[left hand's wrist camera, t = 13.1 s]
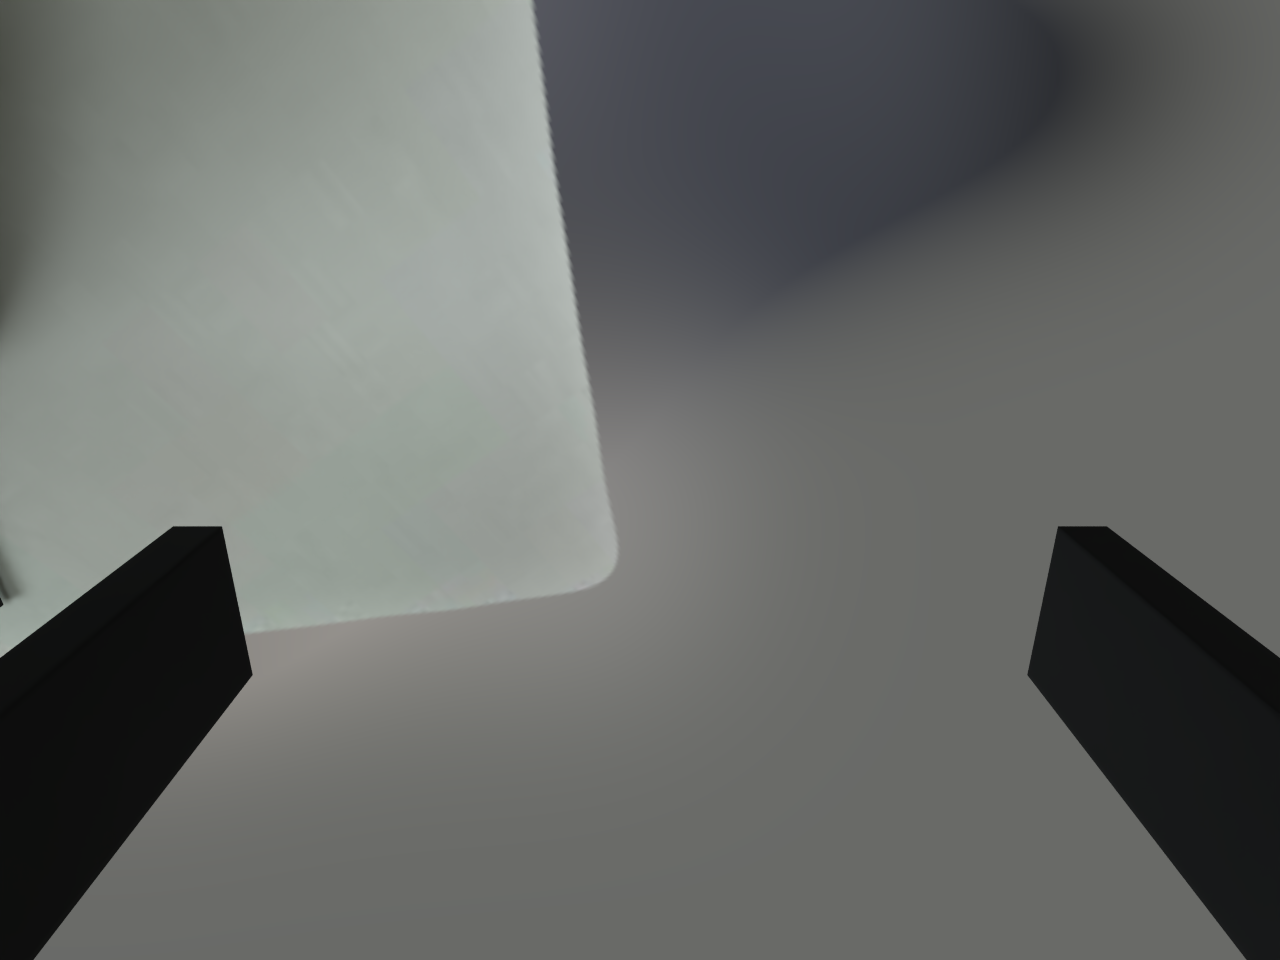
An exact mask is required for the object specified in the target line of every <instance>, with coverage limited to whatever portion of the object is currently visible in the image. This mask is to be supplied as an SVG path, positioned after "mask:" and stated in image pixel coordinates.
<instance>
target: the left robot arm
mask: <svg viewBox="0 0 1280 960" xmlns="http://www.w3.org/2000/svg"><path fill="white" fill-rule="evenodd" d="M2 605H3V603H2V601H1V598H0V607H1V606H2ZM251 676H252V670H251V665H250V660H249V655H248V650H247V645H246V641H245V636H244V631H243V626H242V621H241V616H240V612H239V607H238V602H237V597H236V592H235V587H234V582H233V578H232V573H231V568H230V563H229V558H228V553H227V549H226V544H225V539H224V534H223V529H222V526H173V527H172V528H171V529H169V530H168V531H167V532H165V533H164V534H163V535H161V536H160V537H159V538H157V539H156V540H155V541H153V542H152V543H151V544H149V545H148V546H147V547H146V548H144V549H143V550H142V551H140V552H139V553H138V554H136V555H135V556H134V557H132V558H131V559H130V560H128V561H127V562H126V563H124V564H123V565H122V566H121V567H119V568H118V569H117V570H115V571H114V572H113V573H111V574H110V575H109V576H107V577H106V578H105V579H103V580H102V581H101V582H99V583H98V584H97V585H96V586H94V587H93V588H92V589H90V590H89V591H88V592H86V593H85V594H84V595H82V596H81V597H80V598H78V599H77V600H76V601H74V602H73V603H72V604H71V605H69V606H68V607H67V608H65V609H64V610H63V611H61V612H60V613H59V614H57V615H56V616H55V617H53V618H52V619H51V620H49V621H48V622H47V623H46V624H44V625H43V626H42V627H40V628H39V629H38V630H36V631H35V632H34V633H32V634H31V635H30V636H28V637H27V638H26V639H24V640H23V641H22V642H21V643H19V644H18V645H17V646H15V647H14V648H13V649H11V650H10V651H9V652H7V653H6V654H5V655H3V656H2V657H1V658H0V960H34V958H35V957H36V956H37V954H38V953H39V952H40V950H41V949H42V948H43V947H44V945H45V944H46V943H47V941H48V940H49V939H50V937H51V936H52V935H53V934H54V932H55V931H56V930H57V928H58V927H59V926H60V924H61V923H62V922H63V921H64V919H65V918H66V917H67V915H68V914H69V913H70V912H71V910H72V909H73V908H74V906H75V905H76V904H77V902H78V901H79V900H80V899H81V897H82V896H83V895H84V893H85V892H86V891H87V889H88V888H89V887H90V885H91V884H92V883H93V882H94V880H95V879H96V878H97V876H98V875H99V874H100V872H101V871H102V870H103V869H104V867H105V866H106V865H107V863H108V862H109V861H110V860H111V858H112V857H113V856H114V854H115V853H116V852H117V850H118V849H119V848H120V847H121V845H122V844H123V843H124V841H125V840H126V839H127V837H128V836H129V835H130V834H131V832H132V831H133V830H134V828H135V827H136V826H137V824H138V823H139V822H140V820H141V819H142V818H143V817H144V815H145V814H146V813H147V811H148V810H149V809H150V808H151V806H152V805H153V804H154V802H155V801H156V800H157V798H158V797H159V796H160V795H161V793H162V792H163V791H164V789H165V788H166V787H167V785H168V784H169V783H170V782H171V780H172V779H173V778H174V776H175V775H176V774H177V772H178V771H179V770H180V769H181V767H182V766H183V765H184V763H185V762H186V761H187V759H188V758H189V757H190V756H191V754H192V753H193V752H194V750H195V749H196V748H197V746H198V745H199V744H200V743H201V741H202V740H203V739H204V737H205V736H206V735H207V733H208V732H209V731H210V730H211V728H212V727H213V726H214V724H215V723H216V722H217V721H218V719H219V718H220V717H221V715H222V714H223V713H224V711H225V710H226V709H227V708H228V706H229V705H230V704H231V702H232V701H233V700H234V698H235V697H236V696H237V695H238V693H239V692H240V691H241V689H242V688H243V687H244V685H245V684H246V683H247V682H248V680H249V679H250V678H251ZM1028 676H1029V678H1030V679H1031V680H1032V682H1033V683H1034V684H1035V685H1036V687H1037V688H1038V689H1039V691H1040V692H1041V693H1042V695H1043V696H1044V697H1045V698H1046V700H1047V701H1048V702H1049V704H1050V705H1051V706H1052V707H1053V709H1054V710H1055V711H1056V713H1057V714H1058V715H1059V717H1060V718H1061V719H1062V720H1063V722H1064V723H1065V724H1066V726H1067V727H1068V728H1069V730H1070V731H1071V732H1072V734H1073V735H1074V736H1075V737H1076V739H1077V740H1078V741H1079V743H1080V744H1081V745H1082V747H1083V748H1084V749H1085V750H1086V752H1087V753H1088V754H1089V756H1090V757H1091V758H1092V759H1093V761H1094V762H1095V763H1096V765H1097V766H1098V767H1099V769H1100V770H1101V771H1102V772H1103V774H1104V775H1105V776H1106V778H1107V779H1108V780H1109V782H1110V783H1111V784H1112V785H1113V787H1114V788H1115V789H1116V791H1117V792H1118V793H1119V795H1120V796H1121V797H1122V798H1123V800H1124V801H1125V802H1126V804H1127V805H1128V806H1129V808H1130V809H1131V810H1132V811H1133V813H1134V814H1135V815H1136V817H1137V818H1138V819H1139V821H1140V822H1141V823H1142V824H1143V826H1144V827H1145V828H1146V830H1147V831H1148V832H1149V834H1150V835H1151V836H1152V837H1153V839H1154V840H1155V841H1156V843H1157V844H1158V845H1159V847H1160V848H1161V849H1162V850H1163V852H1164V853H1165V854H1166V856H1167V857H1168V858H1169V860H1170V861H1171V862H1172V863H1173V865H1174V866H1175V867H1176V869H1177V870H1178V871H1179V873H1180V874H1181V875H1182V876H1183V878H1184V879H1185V880H1186V882H1187V883H1188V884H1189V886H1190V887H1191V888H1192V889H1193V891H1194V892H1195V893H1196V895H1197V896H1198V897H1199V898H1200V900H1201V901H1202V902H1203V904H1204V905H1205V906H1206V908H1207V909H1208V910H1209V911H1210V913H1211V914H1212V915H1213V917H1214V918H1215V919H1216V921H1217V922H1218V923H1219V924H1220V926H1221V927H1222V928H1223V930H1224V931H1225V932H1226V934H1227V935H1228V936H1229V937H1230V939H1231V940H1232V941H1233V943H1234V944H1235V945H1236V947H1237V948H1238V949H1239V950H1240V952H1241V953H1242V954H1243V956H1244V957H1245V958H1246V959H1247V960H1280V658H1279V657H1278V656H1277V655H1275V654H1274V653H1273V652H1271V651H1270V650H1269V649H1267V648H1266V647H1265V646H1263V645H1262V644H1261V643H1259V642H1258V641H1257V640H1255V639H1254V638H1253V637H1251V636H1250V635H1249V634H1247V633H1246V632H1245V631H1244V630H1242V629H1241V628H1240V627H1238V626H1237V625H1236V624H1234V623H1233V622H1232V621H1231V620H1229V619H1228V618H1226V617H1225V616H1224V615H1223V614H1221V613H1220V612H1219V611H1217V610H1216V609H1215V608H1213V607H1212V606H1211V605H1209V604H1208V603H1207V602H1206V601H1204V600H1203V599H1202V598H1200V597H1199V596H1197V595H1196V594H1195V593H1194V592H1192V591H1191V590H1190V589H1188V588H1187V587H1186V586H1184V585H1183V584H1182V583H1181V582H1179V581H1178V580H1177V579H1175V578H1174V577H1173V576H1171V575H1170V574H1169V573H1167V572H1166V571H1165V570H1163V569H1162V568H1161V567H1159V566H1158V565H1157V564H1156V563H1154V562H1153V561H1152V560H1150V559H1149V558H1148V557H1146V556H1145V555H1144V554H1142V553H1141V552H1140V551H1138V550H1137V549H1136V548H1134V547H1133V546H1132V545H1131V544H1129V543H1128V542H1127V541H1125V540H1124V539H1123V538H1121V537H1120V536H1119V535H1117V534H1116V533H1115V532H1113V531H1112V530H1111V529H1109V528H1108V527H1106V526H1103V527H1102V526H1099V527H1098V526H1097V527H1095V526H1093V527H1092V526H1087V527H1086V526H1084V527H1083V526H1081V527H1079V526H1078V527H1077V526H1075V527H1073V526H1069V527H1068V526H1067V527H1065V526H1061V527H1060V526H1059V527H1058V529H1057V534H1056V539H1055V544H1054V549H1053V553H1052V558H1051V563H1050V568H1049V573H1048V578H1047V582H1046V587H1045V592H1044V597H1043V602H1042V607H1041V611H1040V616H1039V621H1038V626H1037V631H1036V636H1035V641H1034V646H1033V650H1032V655H1031V660H1030V665H1029V670H1028Z"/></svg>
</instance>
